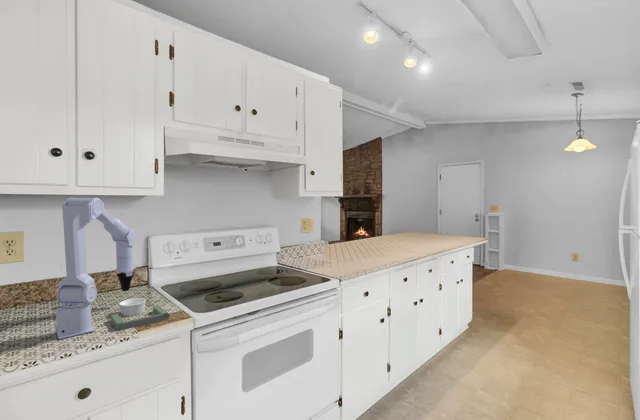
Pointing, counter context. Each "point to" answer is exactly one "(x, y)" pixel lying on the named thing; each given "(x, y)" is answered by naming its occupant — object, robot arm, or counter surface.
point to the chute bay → (159, 316)
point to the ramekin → (132, 306)
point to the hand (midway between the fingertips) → (125, 290)
